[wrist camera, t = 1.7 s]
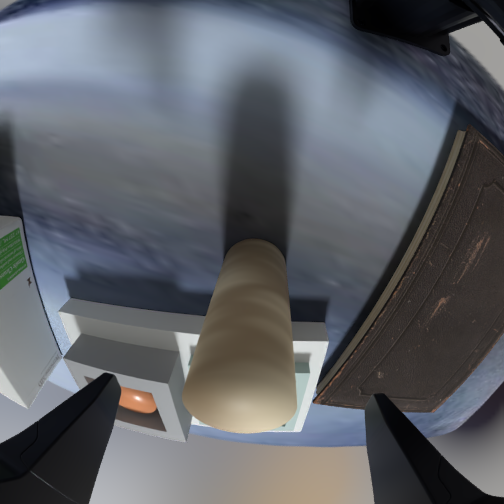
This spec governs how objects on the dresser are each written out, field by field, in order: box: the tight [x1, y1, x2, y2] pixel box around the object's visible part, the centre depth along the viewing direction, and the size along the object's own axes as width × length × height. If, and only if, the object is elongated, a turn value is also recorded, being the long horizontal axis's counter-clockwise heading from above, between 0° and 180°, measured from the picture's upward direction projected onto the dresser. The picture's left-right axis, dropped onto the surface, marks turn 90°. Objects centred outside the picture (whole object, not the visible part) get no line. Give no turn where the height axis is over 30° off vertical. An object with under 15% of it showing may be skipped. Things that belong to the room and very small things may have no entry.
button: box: [119, 386, 157, 413], centre depth 19 cm, size 4×4×1 cm
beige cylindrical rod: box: [182, 239, 297, 433], centre depth 13 cm, size 4×4×10 cm
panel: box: [58, 298, 329, 442], centre depth 19 cm, size 20×12×5 cm, turn 88°
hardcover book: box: [313, 124, 504, 412], centre depth 17 cm, size 16×23×2 cm
